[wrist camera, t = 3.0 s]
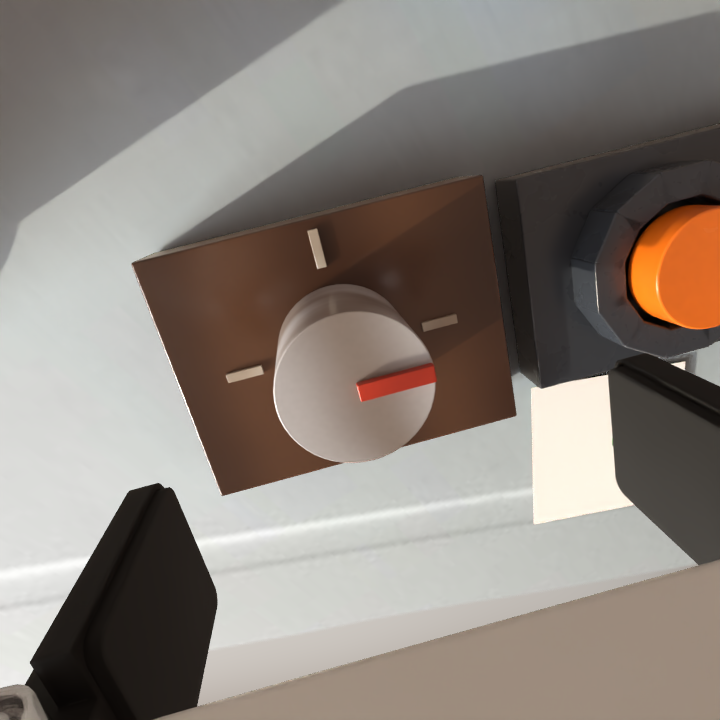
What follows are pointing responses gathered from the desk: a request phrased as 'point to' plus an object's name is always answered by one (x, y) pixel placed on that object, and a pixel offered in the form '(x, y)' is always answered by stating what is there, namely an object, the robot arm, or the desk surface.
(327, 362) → the dial
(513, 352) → the desk surface
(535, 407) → the coaster
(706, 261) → the button
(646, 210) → the box
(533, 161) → the desk surface
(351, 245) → the timer panel
